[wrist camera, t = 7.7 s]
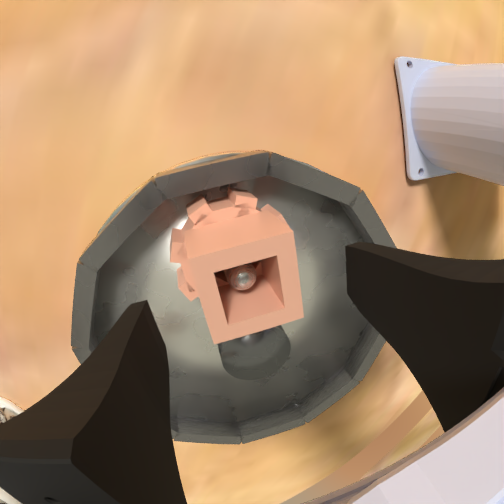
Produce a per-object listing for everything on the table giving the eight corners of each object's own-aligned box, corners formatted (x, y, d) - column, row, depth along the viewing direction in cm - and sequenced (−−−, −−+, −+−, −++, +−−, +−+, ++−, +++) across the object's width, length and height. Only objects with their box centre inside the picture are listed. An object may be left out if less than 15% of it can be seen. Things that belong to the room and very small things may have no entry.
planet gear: (270, 177, 15) (314, 199, 10) (285, 276, 17) (326, 327, 13) (158, 205, 14) (152, 240, 10) (188, 304, 16) (197, 367, 12)
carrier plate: (369, 128, 16) (432, 134, 12) (371, 369, 24) (403, 410, 19) (33, 208, 13) (-14, 240, 9) (150, 437, 21) (154, 490, 16)
